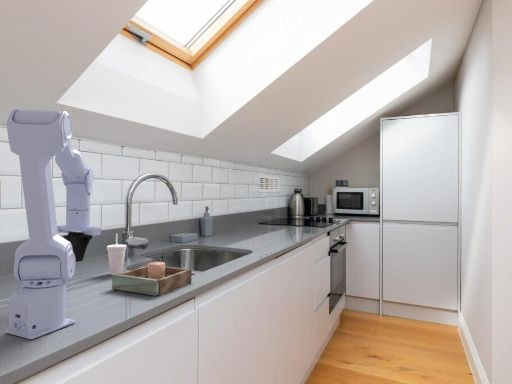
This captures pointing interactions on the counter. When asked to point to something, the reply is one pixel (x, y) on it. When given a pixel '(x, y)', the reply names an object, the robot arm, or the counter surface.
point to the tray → (136, 284)
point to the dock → (167, 283)
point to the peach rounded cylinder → (156, 270)
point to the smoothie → (116, 257)
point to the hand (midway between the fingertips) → (77, 261)
